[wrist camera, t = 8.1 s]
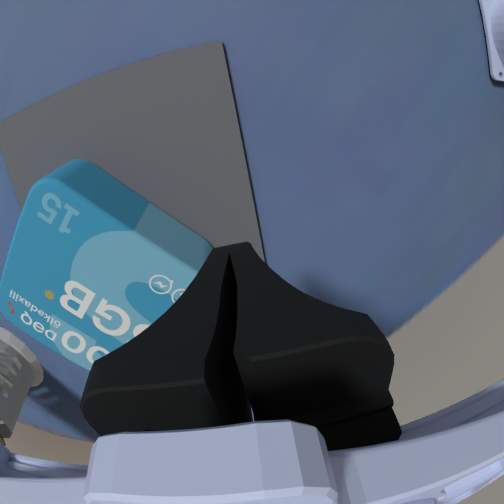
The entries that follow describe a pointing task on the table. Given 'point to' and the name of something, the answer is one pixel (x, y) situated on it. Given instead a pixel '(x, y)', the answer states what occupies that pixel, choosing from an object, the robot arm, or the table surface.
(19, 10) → the table surface
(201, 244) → the data package
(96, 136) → the mat
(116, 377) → the robot arm
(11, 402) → the french press
